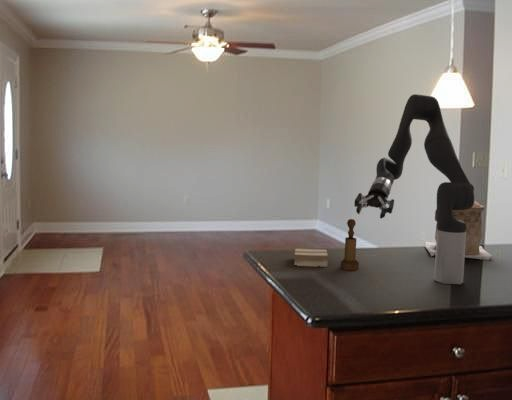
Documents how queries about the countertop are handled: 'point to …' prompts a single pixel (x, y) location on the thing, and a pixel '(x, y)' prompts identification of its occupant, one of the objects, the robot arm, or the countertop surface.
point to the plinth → (311, 257)
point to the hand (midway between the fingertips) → (369, 214)
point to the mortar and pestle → (350, 249)
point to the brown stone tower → (467, 232)
